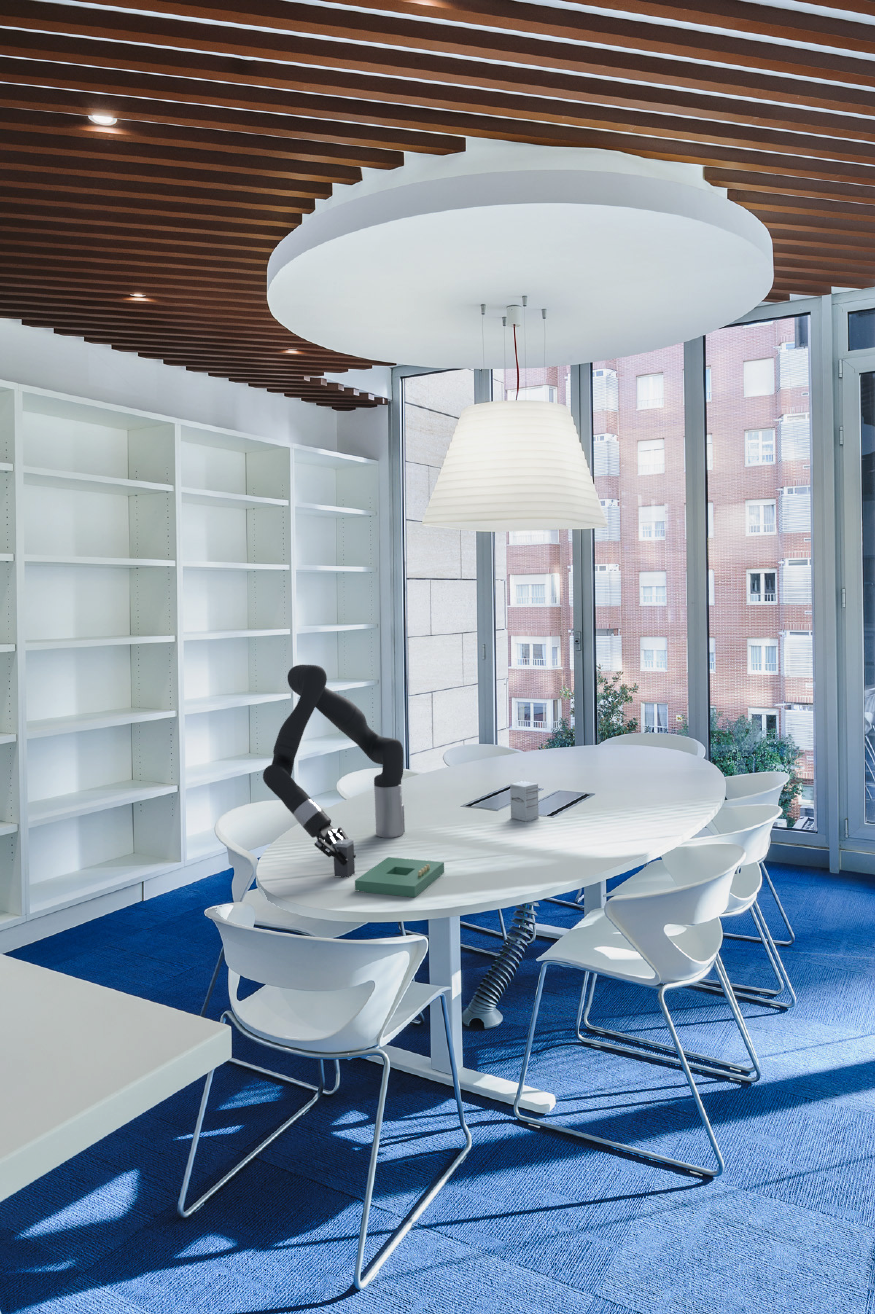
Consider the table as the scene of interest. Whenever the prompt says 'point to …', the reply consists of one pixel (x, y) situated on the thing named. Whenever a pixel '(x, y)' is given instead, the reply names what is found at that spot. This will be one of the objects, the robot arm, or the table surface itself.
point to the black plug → (348, 852)
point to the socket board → (400, 877)
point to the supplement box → (524, 800)
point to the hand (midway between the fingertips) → (349, 860)
